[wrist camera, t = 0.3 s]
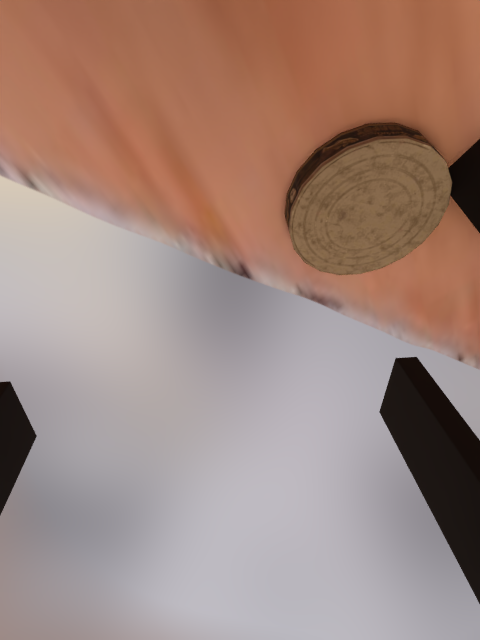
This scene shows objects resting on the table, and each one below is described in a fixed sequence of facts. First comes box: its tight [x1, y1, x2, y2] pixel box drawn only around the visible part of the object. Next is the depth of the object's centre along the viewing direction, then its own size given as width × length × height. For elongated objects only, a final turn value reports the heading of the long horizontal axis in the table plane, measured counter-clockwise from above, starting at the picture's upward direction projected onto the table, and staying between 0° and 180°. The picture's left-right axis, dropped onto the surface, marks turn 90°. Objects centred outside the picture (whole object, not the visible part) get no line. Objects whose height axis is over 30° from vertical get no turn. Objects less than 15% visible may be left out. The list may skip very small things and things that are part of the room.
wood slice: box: [285, 123, 452, 275], centre depth 38 cm, size 16×16×3 cm
